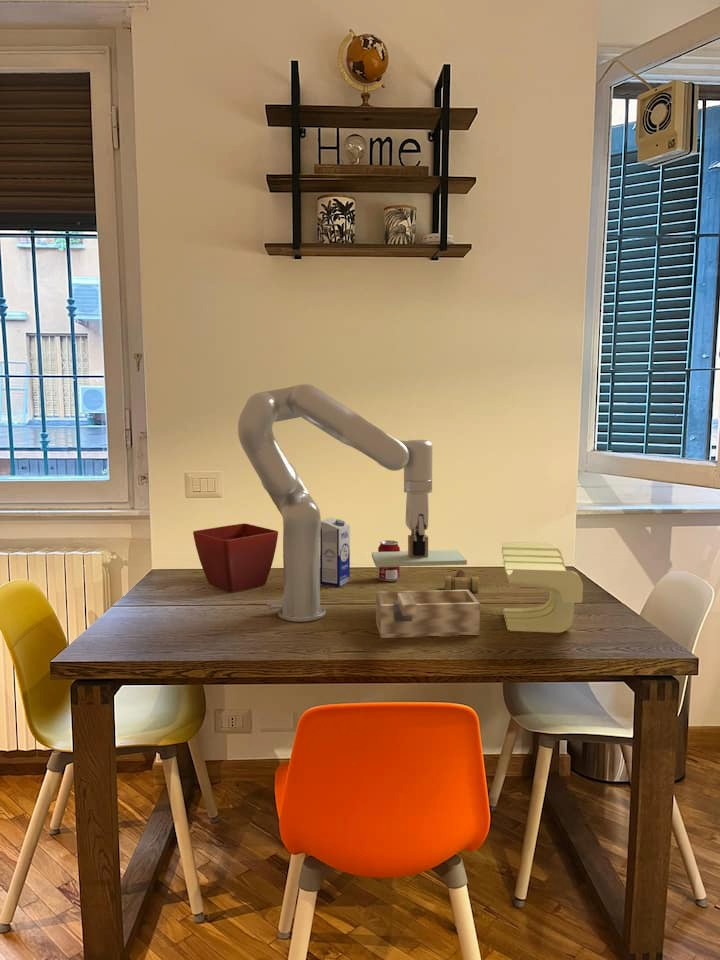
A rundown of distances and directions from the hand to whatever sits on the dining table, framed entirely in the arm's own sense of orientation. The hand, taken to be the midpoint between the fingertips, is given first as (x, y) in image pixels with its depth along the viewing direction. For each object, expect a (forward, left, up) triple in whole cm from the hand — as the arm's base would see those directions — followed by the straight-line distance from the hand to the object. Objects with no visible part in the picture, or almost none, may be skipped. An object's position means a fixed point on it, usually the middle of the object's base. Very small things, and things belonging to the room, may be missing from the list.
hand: (417, 553), depth 191 cm
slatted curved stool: (+29, -14, -16) cm, 36 cm away
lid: (0, 0, -2) cm, 2 cm away
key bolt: (-7, -30, -6) cm, 31 cm away
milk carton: (-21, +27, -16) cm, 38 cm away
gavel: (+18, +25, -16) cm, 35 cm away
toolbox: (0, -18, -15) cm, 23 cm away
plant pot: (-51, +27, -16) cm, 60 cm away
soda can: (-4, +30, -16) cm, 34 cm away
